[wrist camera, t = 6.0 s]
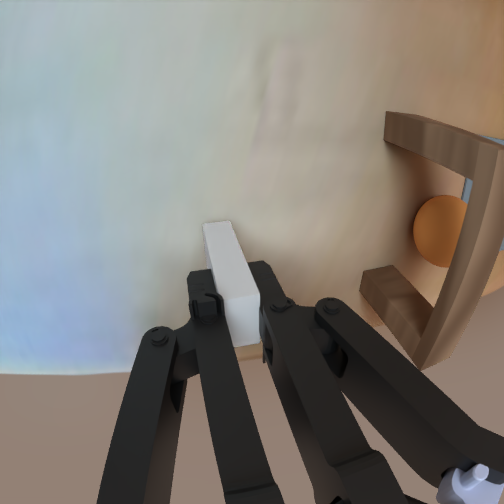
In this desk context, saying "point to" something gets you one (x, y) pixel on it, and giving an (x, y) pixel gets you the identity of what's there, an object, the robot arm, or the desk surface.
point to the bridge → (467, 249)
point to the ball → (439, 228)
